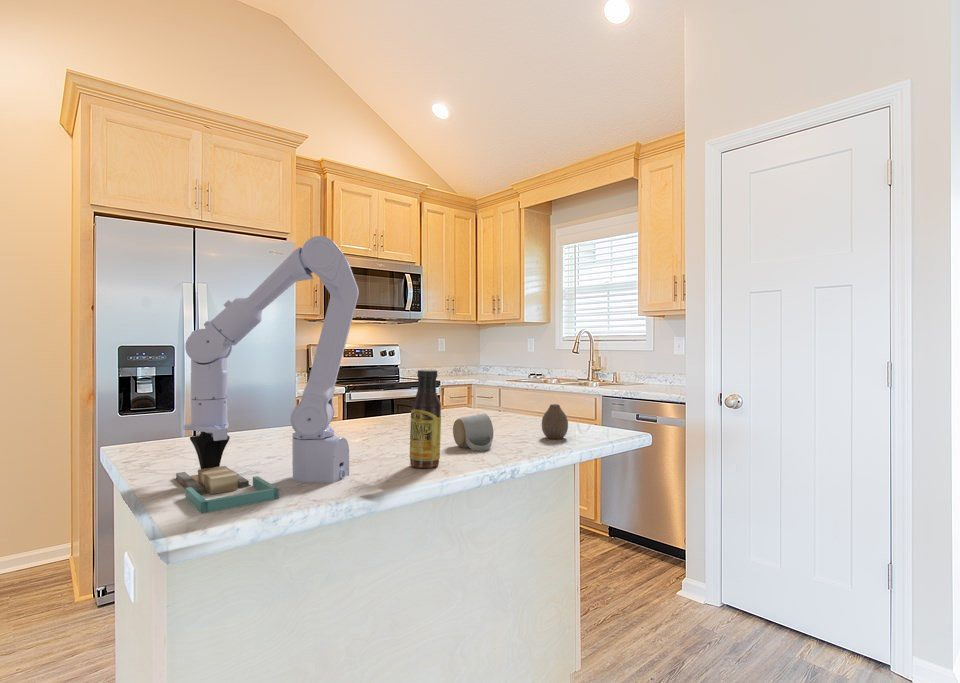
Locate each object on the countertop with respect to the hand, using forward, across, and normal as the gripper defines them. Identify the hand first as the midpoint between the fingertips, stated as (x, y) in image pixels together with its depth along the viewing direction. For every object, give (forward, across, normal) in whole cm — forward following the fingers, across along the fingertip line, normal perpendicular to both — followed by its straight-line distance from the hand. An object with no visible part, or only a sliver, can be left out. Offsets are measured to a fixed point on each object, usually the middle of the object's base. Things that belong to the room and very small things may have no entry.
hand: (210, 475), depth 95 cm
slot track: (+2, +1, 0) cm, 3 cm away
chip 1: (+1, +3, 0) cm, 3 cm away
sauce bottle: (+3, +10, +38) cm, 40 cm away
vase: (+3, +7, +82) cm, 82 cm away
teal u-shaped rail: (+2, +13, 0) cm, 13 cm away
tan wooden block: (+1, +7, 0) cm, 7 cm away
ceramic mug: (+3, +2, +59) cm, 59 cm away
